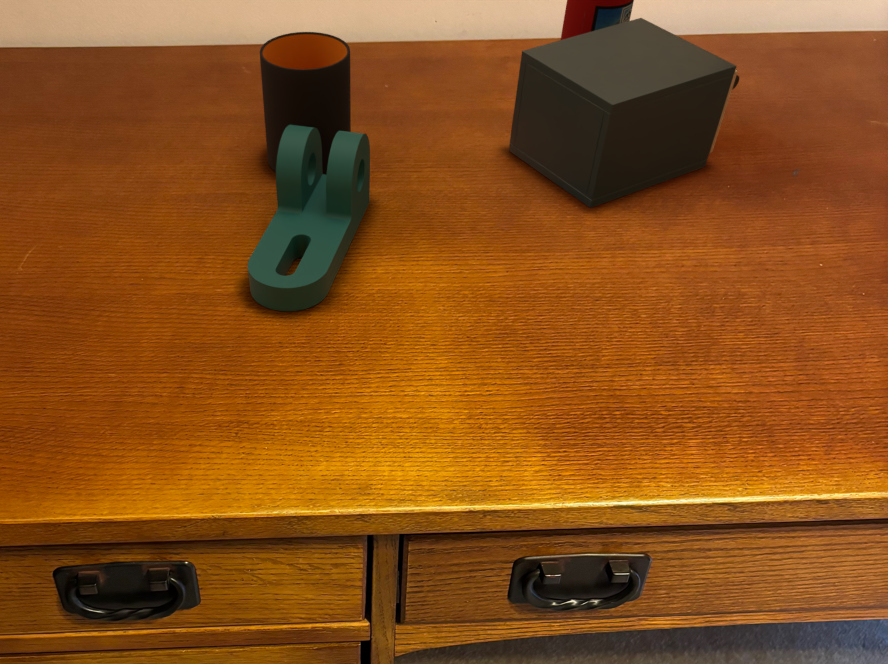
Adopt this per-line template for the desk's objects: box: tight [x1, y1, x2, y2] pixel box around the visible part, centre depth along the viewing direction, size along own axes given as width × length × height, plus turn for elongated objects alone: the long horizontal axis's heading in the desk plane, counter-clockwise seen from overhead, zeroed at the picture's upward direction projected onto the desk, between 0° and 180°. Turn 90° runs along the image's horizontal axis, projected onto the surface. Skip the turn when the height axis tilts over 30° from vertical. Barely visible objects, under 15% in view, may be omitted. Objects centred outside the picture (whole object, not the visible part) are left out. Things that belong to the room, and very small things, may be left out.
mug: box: [259, 31, 352, 175], centre depth 88 cm, size 8×12×10 cm
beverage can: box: [560, 0, 635, 40], centre depth 97 cm, size 7×7×12 cm
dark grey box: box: [508, 17, 737, 209], centre depth 87 cm, size 15×13×10 cm
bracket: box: [247, 125, 371, 312], centre depth 78 cm, size 18×7×8 cm, turn 165°
